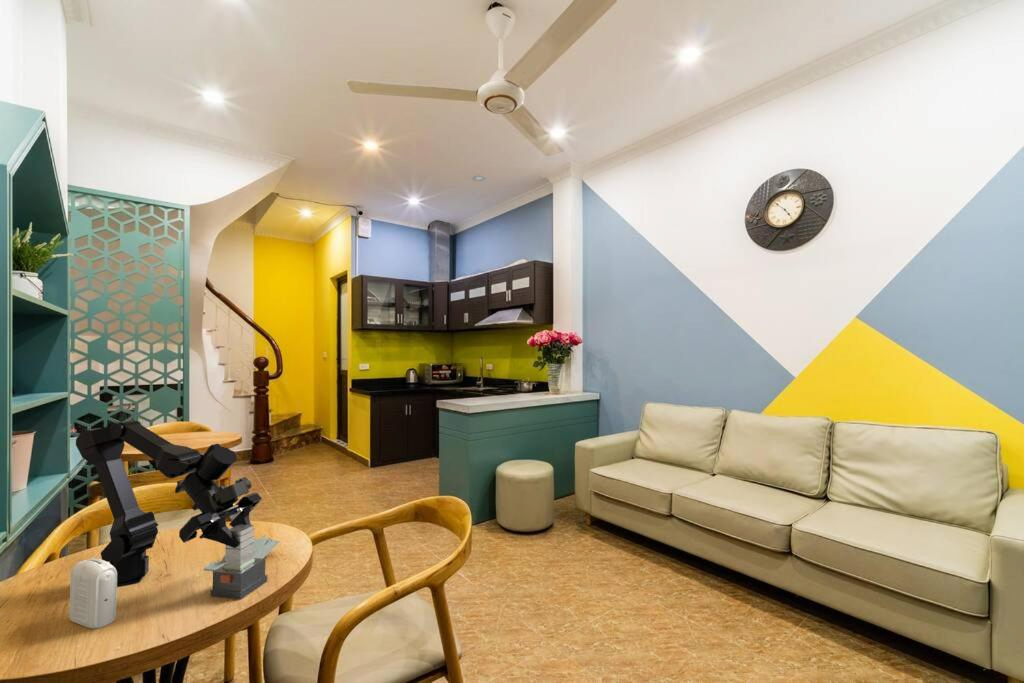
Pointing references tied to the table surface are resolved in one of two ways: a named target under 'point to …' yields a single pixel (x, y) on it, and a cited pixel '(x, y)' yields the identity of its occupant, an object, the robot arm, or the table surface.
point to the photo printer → (93, 593)
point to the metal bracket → (260, 551)
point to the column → (241, 548)
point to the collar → (238, 580)
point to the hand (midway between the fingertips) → (244, 542)
